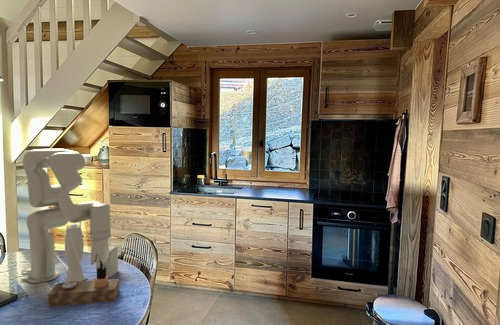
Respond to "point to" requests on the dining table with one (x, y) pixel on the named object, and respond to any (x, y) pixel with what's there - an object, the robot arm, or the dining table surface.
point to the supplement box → (112, 261)
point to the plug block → (83, 293)
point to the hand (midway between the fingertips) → (101, 278)
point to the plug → (69, 285)
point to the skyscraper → (74, 252)
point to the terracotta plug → (101, 282)
